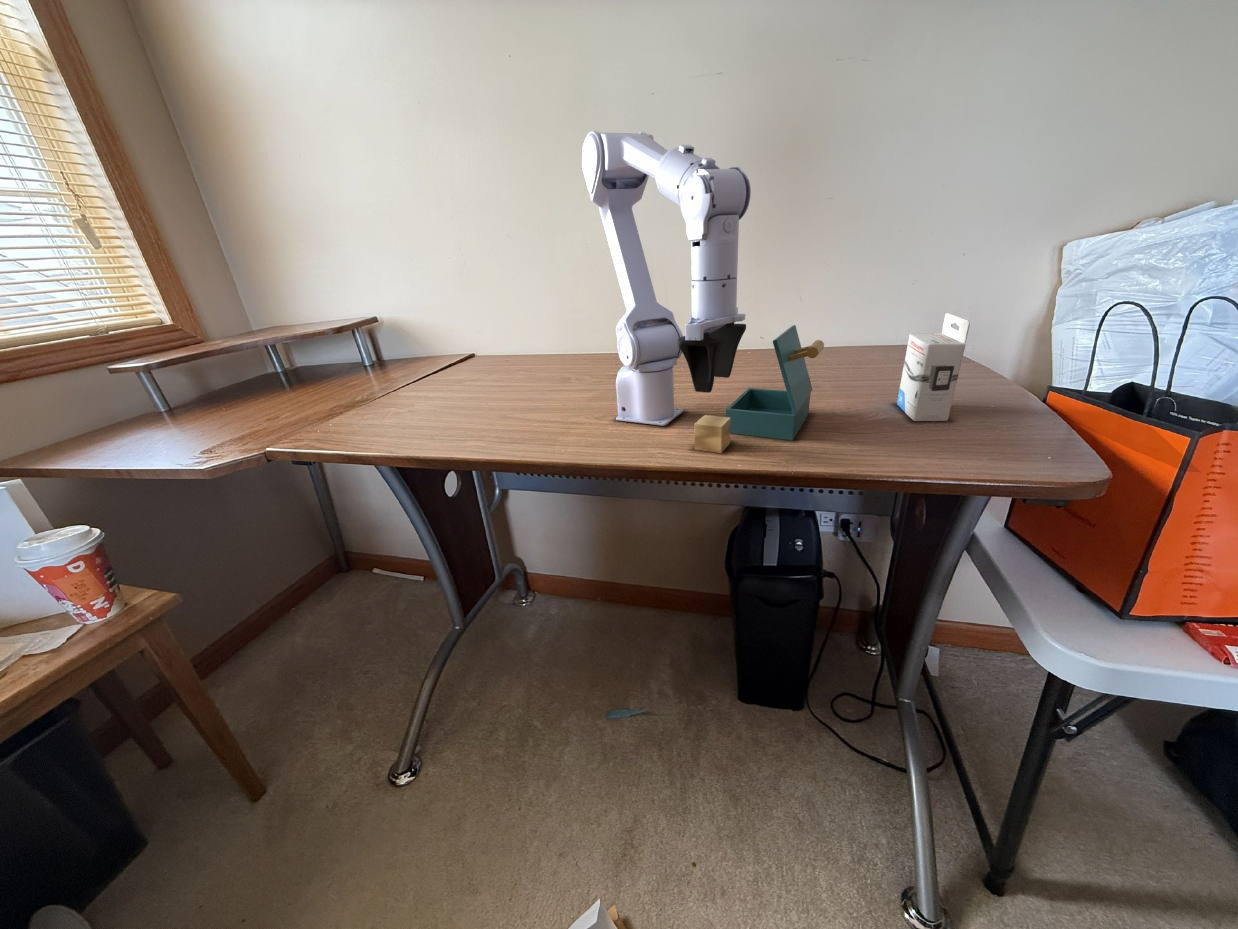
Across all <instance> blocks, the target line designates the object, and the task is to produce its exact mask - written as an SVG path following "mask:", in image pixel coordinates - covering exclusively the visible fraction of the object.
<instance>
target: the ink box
mask: <svg viewBox="0 0 1238 929" xmlns="http://www.w3.org/2000/svg"><path fill="white" fill-rule="evenodd" d="M970 324H971V322H970V320H968V319H966V318H963V317H960V316H957V315H955V314H951V313H949V312H946V313H945V314H944V319H943V324H942V330H941V332H939V333H938V332H937V333H935V332H933V333H928V332H927V333H910V334H909V336H908V341H907V346H906V351H905V356H904V362H903V368H902V374H901V379H900V385H899V389H898V396H897V402H896V405H897V406H898V407H899V408H900V409H901V410H902V411H903V412H904V413H905V414H906V415H907V416H908V417H909V418H910V419H911V420H912V421H914V422H948V420H949V418H950V413H951V409H952V404H953V400H954V395H955V390H956V387H957V383H958V380H959V379H958V378H959V374H960V370H961V366H962V363H963V362H962V361H963V357H964V354H965V348H966V342H967V338H968V334H969V331H970ZM953 325H956V326H957V327H958V329H956V328H954V327H953Z"/></svg>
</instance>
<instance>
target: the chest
mask: <svg viewBox="0 0 1238 929" xmlns="http://www.w3.org/2000/svg"><path fill="white" fill-rule="evenodd" d="M811 394H812V392H811V393H810V394H809V396H808V397H807V399H806V400H805V402H804V403H803V405H802V406H801V408H800V409H799V411H798V412H797V413H795V414H793V412H792V409H791V405H790V402H789V398H788V394H787V391H786V390H783V389H782V390H781V389H766V388H755V387H748V388H746V389H745V391H743V392H742V393H741V394H740V395H739V396H738V397H737V398H736V399H735V400H734V401H733V402H732V403H731V404H730V405H729V406H727V407H726V408H725V416H724V417H728V418H731V426H730V434H735V435H743V436H751V437H752V436H753V437H759V438H769V439H778V440H785V441H794V439H795V438H796V436H797V435H798V432H799V431H800V429H801V428H802V426H803V424H804V422H805V421H806V420H807V418H808V417H809V414H810V405H811V404H810V402H811Z"/></svg>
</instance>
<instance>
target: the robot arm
mask: <svg viewBox="0 0 1238 929" xmlns="http://www.w3.org/2000/svg"><path fill="white" fill-rule="evenodd" d="M654 139H655V138H654V135H653V134H650V133H649V134H648V133H647V132H644V131H639V132H637V133H636V132H635V133H634V132H599V131H596V130H590V131H589V132H588V133H587V134H586V136H585V138H584V141H583V144H582V151H581V152H582V154H581V155H582V156H581V169H582V173H583V176H584V181H585V184H586V187H587V191H588V193H589V197H590V201H591V202H592V203H593V204H595V205H596V206H597V207H598V210H599V215H600V218H601V222H602V225H603V230H604V233H605V236H606V240H607V244H608V248H609V252H610V255H611V259H612V262H613V266H614V270H615V272H616V273H615V274H616V277H617V280H618V285H619V288H620V292H621V295H622V300H623V303H624V306H625V310H626V312H625V313H624V314H623V315H622V317H620V319H619V320H618V322H617V324H616V327H615V335H616V340H617V344H616V345H617V353H618V357H619V359H620V362H621V363H622V365H623V366H622V367H621V368H620V369H619V370H618V372H617V374H616V380H615V388H616V389H615V391H616V404H617V416H616V417H615V418H616V419H615V420H616V421H618V422H619V421H620V422H629V423H636V424H645V425H653V426H661V427H664V426H665V427H666V426H667V425H668V424H669V423H671V422H672V421H673V420H674V419H676V418H677V417H678V416H680V415H681V414H682V413H684V409H683V408H677V407H675V388H674V386H675V383H674V366H677V365H678V359H680V358H681V356H682V355H683V357H684V359H685V361H686V364H687V367H688V369H689V372H690V373H689V374H690V378H691V381H692V386H693V389H694V391H695V392H696V393H711V392H712V390H713V387H714V382H715V378H730V377H731V374H732V371H733V366H734V362H735V358H736V354H737V351H738V347H739V345H740V342H741V340H742V338H743V335H745V332H746V330H747V324H746V323H739V322H743V321H745V320H746V314H745V313H739V307H738V306H737V304H738V302H737V300H738V269H739V268H738V267H739V266H738V264H739V262H738V261H739V234H740V233H739V232H740V229H739V228H740V220H741V219H742V218H743V217H744V216H745V214H746V212H747V211H748V209H749V205H750V201H751V193H752V192H751V183H750V180H749V177H748V175H747V174H746V172H744V171H743V169H741V167H740V166H731V167H728V168H720V167H719V166H718V165H716V160H715V159H714V158H712V157H701V156H699V155H697V154H696V153H694V152H695V147H694V146H692V145H691V144H679V146H677V147H673V148H671V149H669V150H668V149H667V148H666V147H664V146H663V145H661V144H660V143H658V142H657V141H656V140H654ZM650 177H651V178H653V179H655V185H656V188H657V190H658V191H659V193H660V194H661V195H662V196H664V197H665V198H666V199H668V200H670V201H671V202H673V203H674V204H676V205H678V206H679V207H680V211H681V215H682V218H683V220H684V223H685V227H686V228H685V229H686V230H685V232H686V236H687V240H688V241H690V267H691V268H690V272H691V274H690V275H691V276H690V278H691V282H690V284H691V285H690V286H691V290H690V292H691V315H690V316H689V320H688V322H686V323H685V324H684V329H685V330H684V331H685V332H684V333H685V335H684V334H683V332H682V329H681V328H680V327H679V326H678V323H677V322H676V318H675V316H674V312H673V311H672V310H670V309H668V308H667V307H665V306H663V305H662V304H660V303H659V302H658V301H657V297H656V294H655V290H654V285H653V282H652V279H651V275H650V274H651V273H650V271H649V267H648V263H647V260H646V256H645V251H644V249H643V245H642V241H641V238H640V234H639V230H638V226H637V223H636V219H635V215H634V212H633V206H635V205H636V204H637V203H639V202H640V201H641V200H642V198H643V195H644V192H645V190H646V186H647V183H648V181H649V178H650ZM736 322H737V323H736Z"/></svg>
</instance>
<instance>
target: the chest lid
mask: <svg viewBox="0 0 1238 929" xmlns="http://www.w3.org/2000/svg"><path fill="white" fill-rule="evenodd" d="M772 344H773V349H774V351H775V355H776V358H777V362H778V366H779V370H780V373H781V377H782V380H783V383H784V384H783V385H784V387H785V391H787V394H788V398H789V402H790V405H791V409H792V412H793V414H795V413H797V412H798V411H799V409H800V408H801V406H802V405H803V403H804V402H805V400H806V399H807V397H808V396H809V394H810V393H811V394H812V391H813V390H814V389H813V385H812V383H811V378H810V375H809V370H808V367H807V364H806V359H805V358H806V357H808V358H809V359H815V358H817V356H819V354H820V353H821V352H822V351H823V349H824V348H825V342H824V341H822V340H820V339H817V340H815V341H813V342H812V344H811V345H808V346H804V347H802V345H801V341H800V338H799V334H798V329H797V325H795V324H793V325H791V326H790V327H789V328H787V329H786V330H785V331H783V332H782V333H780V335H779V336H778V335H777V337H776V338H774V339H773V340H772ZM811 394H810V395H811Z"/></svg>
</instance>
